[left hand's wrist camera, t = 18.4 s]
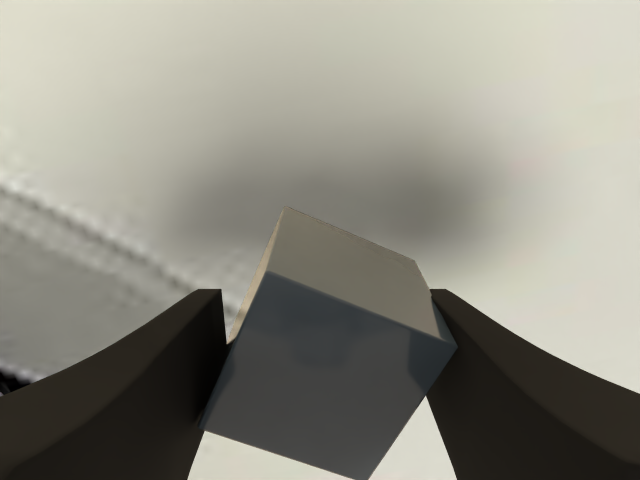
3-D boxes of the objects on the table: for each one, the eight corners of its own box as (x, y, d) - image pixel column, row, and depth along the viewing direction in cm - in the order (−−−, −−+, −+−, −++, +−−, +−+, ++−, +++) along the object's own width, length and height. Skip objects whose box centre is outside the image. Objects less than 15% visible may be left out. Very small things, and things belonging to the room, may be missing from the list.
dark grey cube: (234, 322, 13) (195, 429, 9) (284, 204, 11) (266, 270, 7) (353, 367, 13) (366, 485, 9) (415, 260, 12) (460, 347, 8)
